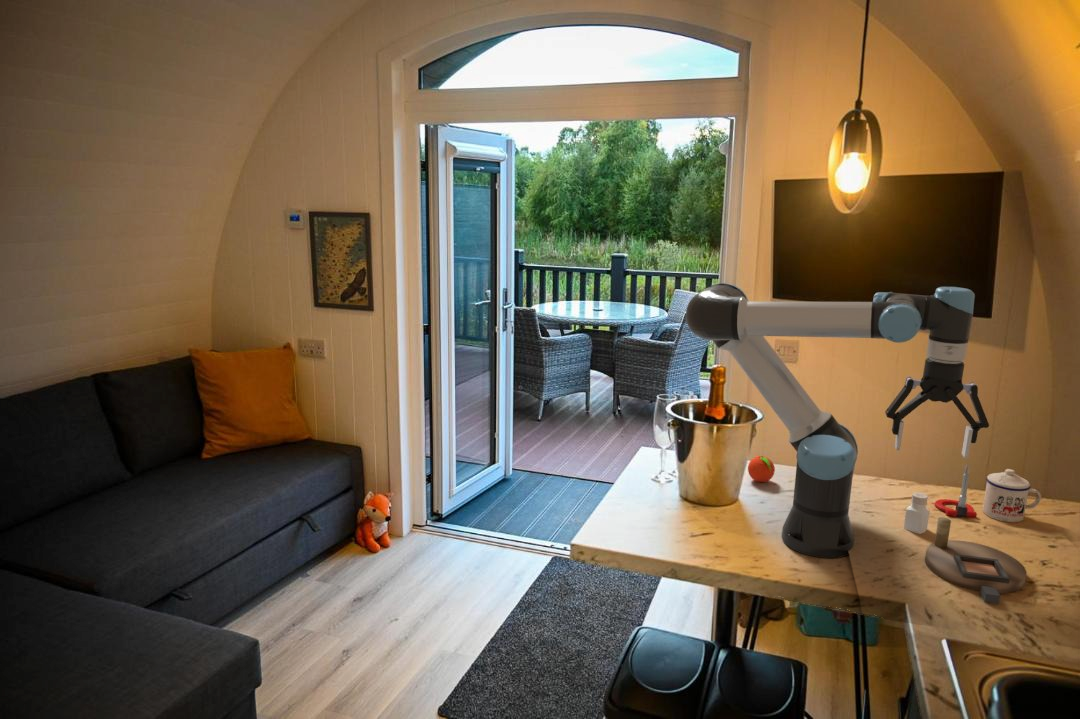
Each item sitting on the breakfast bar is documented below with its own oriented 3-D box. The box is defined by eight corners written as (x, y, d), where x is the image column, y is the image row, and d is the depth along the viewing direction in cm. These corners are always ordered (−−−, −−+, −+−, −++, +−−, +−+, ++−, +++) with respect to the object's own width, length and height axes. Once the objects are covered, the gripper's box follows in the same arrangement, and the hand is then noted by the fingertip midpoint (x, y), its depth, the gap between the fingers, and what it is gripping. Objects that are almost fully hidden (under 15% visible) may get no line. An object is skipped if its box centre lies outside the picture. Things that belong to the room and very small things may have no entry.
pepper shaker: (919, 539, 171) (924, 500, 169) (901, 532, 174) (907, 494, 172) (927, 534, 174) (932, 495, 171) (910, 527, 177) (915, 490, 174)
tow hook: (929, 502, 192) (943, 516, 183) (936, 453, 189) (949, 465, 180) (965, 504, 190) (980, 519, 181) (972, 455, 188) (987, 468, 179)
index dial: (991, 602, 144) (997, 564, 142) (906, 560, 159) (910, 526, 157) (1043, 579, 152) (1050, 542, 150) (958, 541, 167) (963, 508, 165)
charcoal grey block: (983, 607, 144) (985, 593, 143) (979, 599, 147) (981, 585, 146) (997, 609, 143) (1000, 595, 143) (993, 601, 146) (995, 587, 145)
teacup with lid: (988, 521, 180) (995, 475, 178) (976, 505, 189) (983, 461, 186) (1044, 526, 178) (1052, 480, 175) (1029, 510, 186) (1037, 466, 184)
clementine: (781, 486, 200) (783, 461, 198) (757, 489, 198) (760, 463, 196) (764, 475, 207) (766, 450, 205) (742, 477, 205) (743, 452, 203)
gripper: (884, 358, 163) (871, 450, 168) (1015, 369, 155) (998, 465, 161) (880, 350, 169) (868, 439, 175) (1005, 360, 162) (989, 453, 168)
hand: (930, 452), depth 168 cm, fingers open, 13 cm apart
